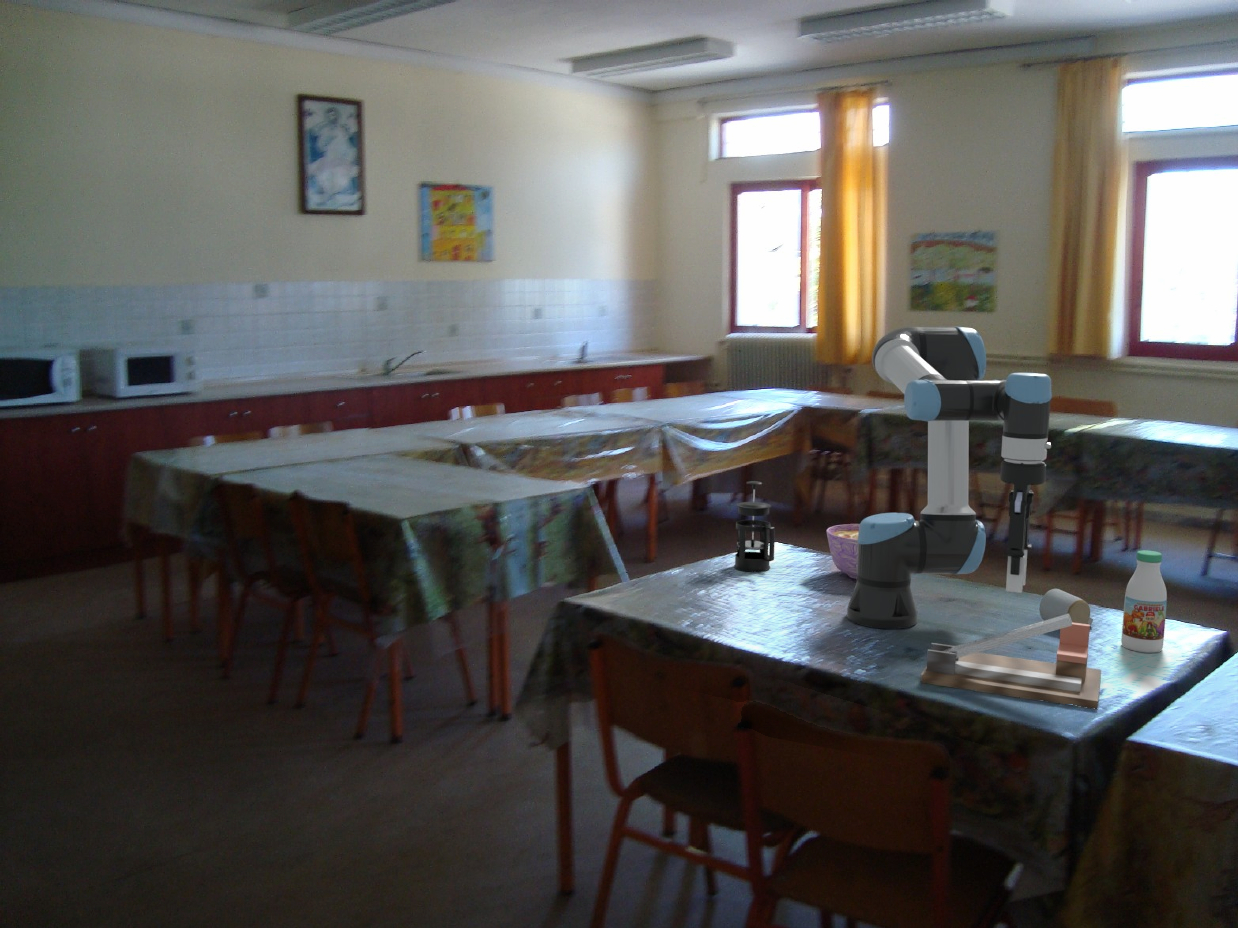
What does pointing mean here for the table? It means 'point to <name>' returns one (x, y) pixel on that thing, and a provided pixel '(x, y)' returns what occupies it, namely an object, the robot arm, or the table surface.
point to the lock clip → (1074, 643)
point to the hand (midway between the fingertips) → (1015, 587)
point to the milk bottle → (1145, 605)
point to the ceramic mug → (1064, 607)
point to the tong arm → (1011, 636)
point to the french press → (753, 559)
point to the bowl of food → (844, 547)
